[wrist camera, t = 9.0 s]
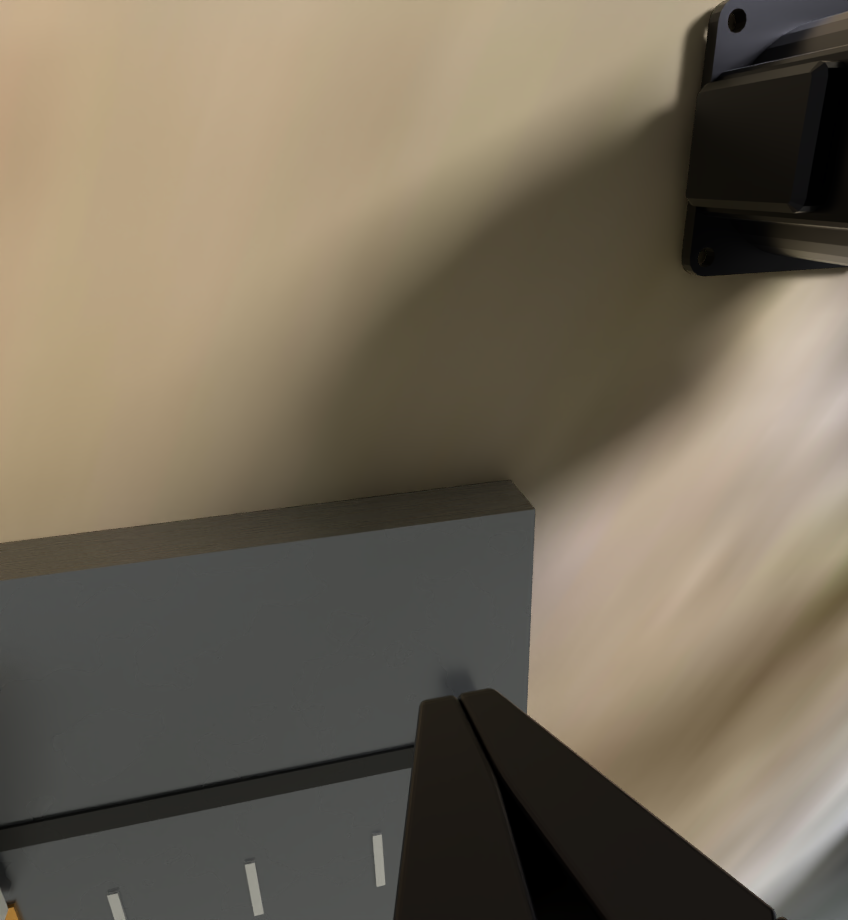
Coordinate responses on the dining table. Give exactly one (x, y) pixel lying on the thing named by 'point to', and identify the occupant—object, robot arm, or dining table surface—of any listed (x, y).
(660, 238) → the dining table surface
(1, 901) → the fader
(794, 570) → the dining table surface
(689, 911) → the robot arm
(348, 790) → the console
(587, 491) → the dining table surface
